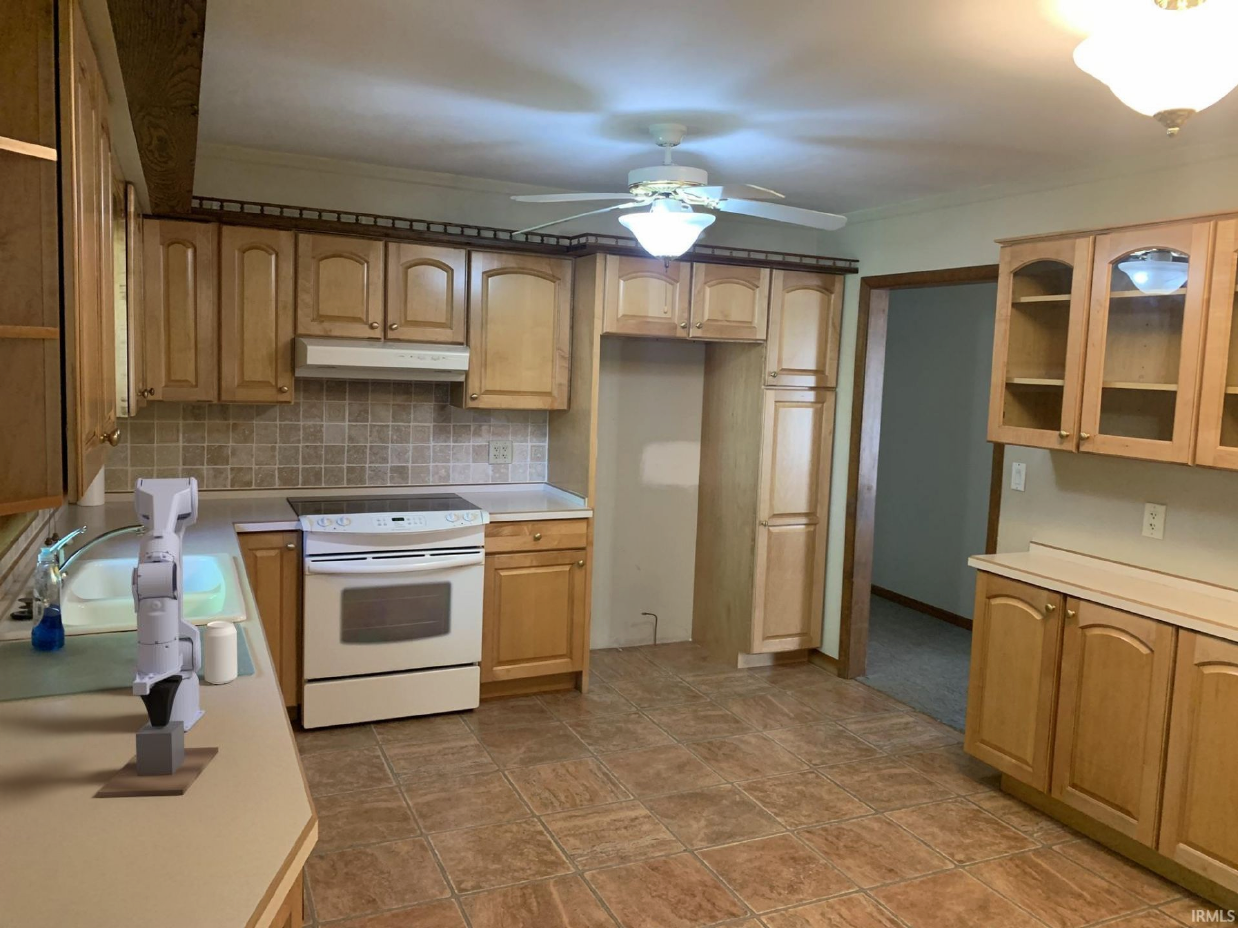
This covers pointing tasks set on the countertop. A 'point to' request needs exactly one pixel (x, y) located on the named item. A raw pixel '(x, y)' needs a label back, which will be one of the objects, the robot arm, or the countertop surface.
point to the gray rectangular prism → (160, 749)
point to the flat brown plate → (159, 777)
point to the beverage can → (220, 652)
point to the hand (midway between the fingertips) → (160, 724)
